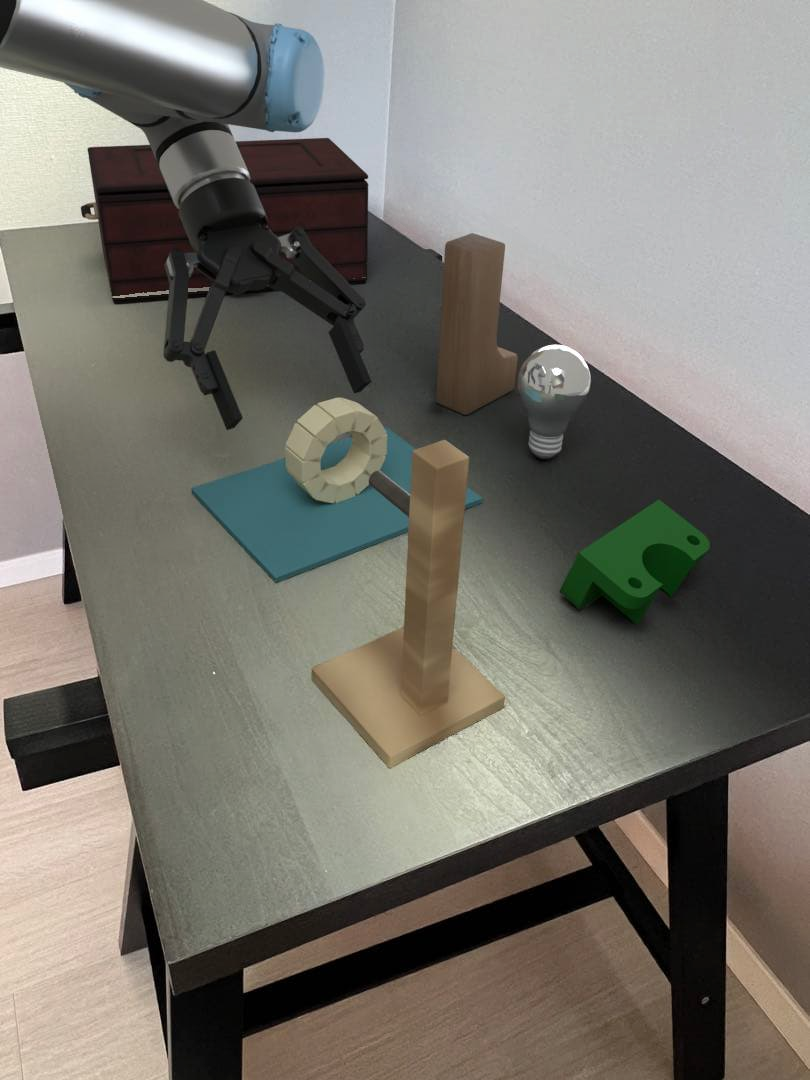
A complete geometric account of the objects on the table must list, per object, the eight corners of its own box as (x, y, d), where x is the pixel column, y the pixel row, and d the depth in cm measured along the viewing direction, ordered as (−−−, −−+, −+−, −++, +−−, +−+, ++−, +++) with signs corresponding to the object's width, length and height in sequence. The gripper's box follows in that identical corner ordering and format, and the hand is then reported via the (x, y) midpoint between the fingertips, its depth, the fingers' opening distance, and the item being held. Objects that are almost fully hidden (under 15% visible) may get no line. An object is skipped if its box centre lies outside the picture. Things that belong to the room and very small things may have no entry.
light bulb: (551, 483, 92) (568, 371, 85) (494, 457, 96) (507, 347, 88) (591, 457, 96) (610, 348, 89) (535, 433, 100) (550, 326, 93)
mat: (275, 583, 78) (275, 577, 78) (191, 493, 88) (190, 487, 88) (482, 503, 89) (482, 497, 88) (385, 431, 99) (385, 426, 99)
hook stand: (389, 769, 63) (400, 504, 50) (311, 679, 69) (303, 425, 57) (504, 707, 68) (540, 452, 55) (421, 629, 74) (436, 385, 61)
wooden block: (484, 377, 110) (498, 221, 99) (515, 390, 108) (533, 232, 97) (433, 403, 104) (443, 241, 94) (465, 417, 102) (479, 253, 91)
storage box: (97, 313, 121) (77, 192, 112) (87, 252, 138) (70, 143, 129) (386, 288, 131) (389, 176, 122) (343, 234, 148) (343, 133, 140)
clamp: (610, 661, 78) (622, 618, 70) (556, 613, 81) (562, 566, 73) (705, 569, 81) (727, 518, 73) (651, 525, 84) (667, 471, 76)
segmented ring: (303, 515, 85) (300, 427, 80) (286, 499, 87) (283, 412, 82) (386, 485, 89) (388, 400, 84) (368, 471, 91) (369, 387, 86)
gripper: (315, 199, 97) (394, 387, 97) (77, 238, 85) (165, 454, 84) (343, 157, 91) (428, 359, 90) (89, 193, 79) (185, 426, 78)
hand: (301, 405), depth 87 cm, fingers open, 13 cm apart
